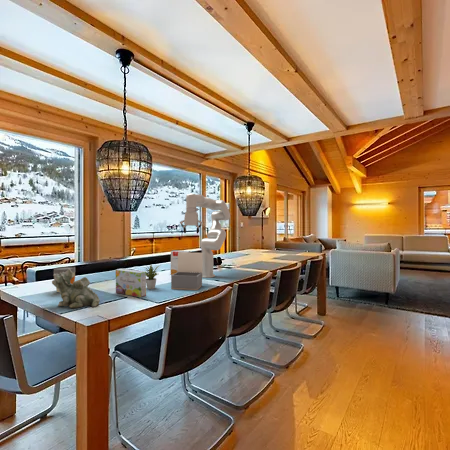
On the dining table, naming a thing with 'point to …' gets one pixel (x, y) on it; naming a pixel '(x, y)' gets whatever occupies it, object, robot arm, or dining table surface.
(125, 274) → the snack box
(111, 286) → the dining table surface
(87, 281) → the sculpture
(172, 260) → the hard drive box
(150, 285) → the house plant
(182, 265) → the flap
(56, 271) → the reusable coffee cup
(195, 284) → the carton
